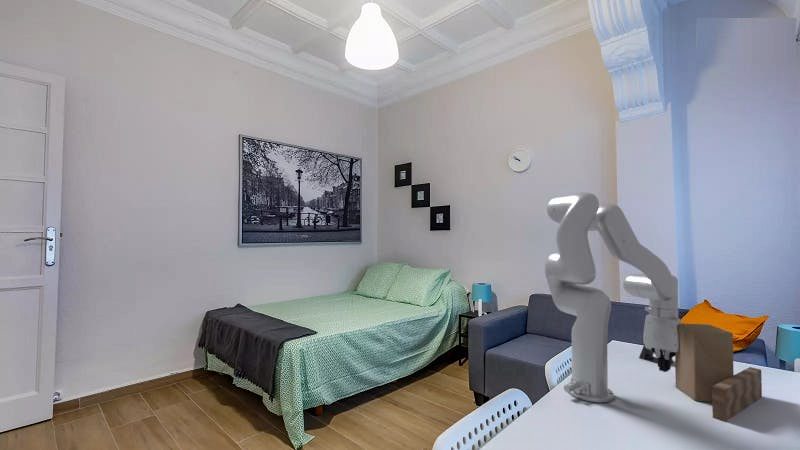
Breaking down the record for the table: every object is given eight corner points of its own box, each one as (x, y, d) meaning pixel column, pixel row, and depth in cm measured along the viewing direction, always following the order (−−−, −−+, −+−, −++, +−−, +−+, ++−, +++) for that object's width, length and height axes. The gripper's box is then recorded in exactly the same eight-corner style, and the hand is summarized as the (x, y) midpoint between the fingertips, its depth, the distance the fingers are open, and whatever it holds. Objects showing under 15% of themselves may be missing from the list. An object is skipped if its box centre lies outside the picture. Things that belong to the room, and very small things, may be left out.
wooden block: (735, 404, 102) (733, 332, 102) (695, 401, 104) (694, 330, 104) (711, 389, 112) (709, 324, 112) (674, 387, 113) (674, 322, 114)
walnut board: (724, 421, 92) (724, 389, 92) (712, 417, 94) (712, 386, 95) (761, 397, 107) (761, 369, 107) (750, 393, 109) (749, 367, 109)
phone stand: (639, 358, 140) (638, 327, 141) (647, 356, 143) (647, 325, 143) (664, 365, 132) (664, 332, 133) (673, 363, 135) (673, 330, 135)
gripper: (632, 310, 121) (633, 365, 120) (686, 318, 108) (687, 381, 108) (643, 307, 125) (643, 361, 124) (696, 316, 112) (697, 376, 112)
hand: (664, 370), depth 116 cm, fingers closed
